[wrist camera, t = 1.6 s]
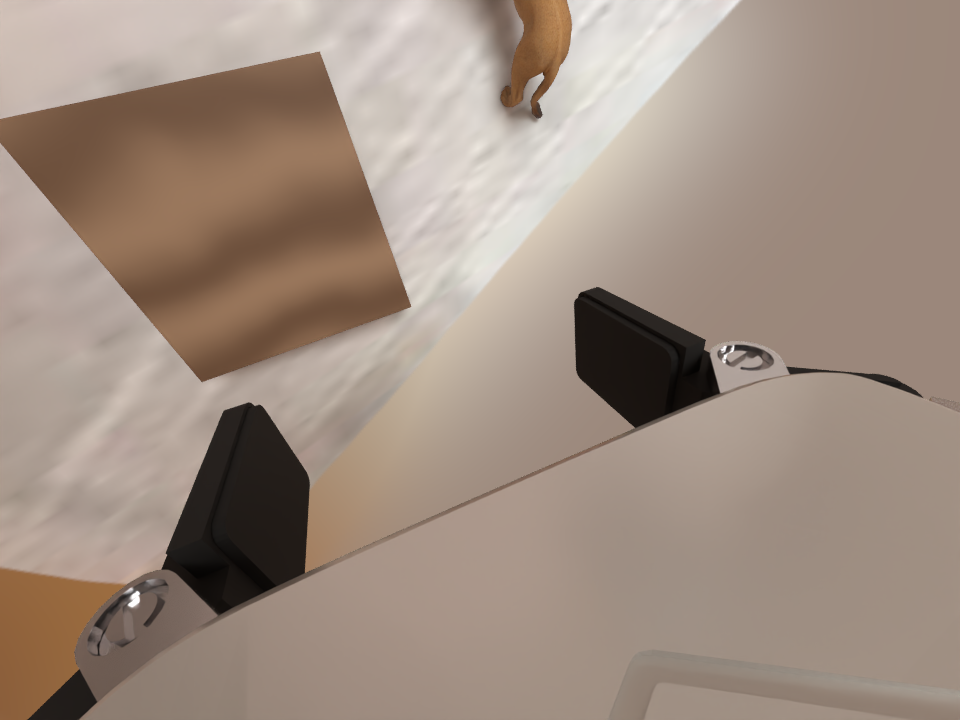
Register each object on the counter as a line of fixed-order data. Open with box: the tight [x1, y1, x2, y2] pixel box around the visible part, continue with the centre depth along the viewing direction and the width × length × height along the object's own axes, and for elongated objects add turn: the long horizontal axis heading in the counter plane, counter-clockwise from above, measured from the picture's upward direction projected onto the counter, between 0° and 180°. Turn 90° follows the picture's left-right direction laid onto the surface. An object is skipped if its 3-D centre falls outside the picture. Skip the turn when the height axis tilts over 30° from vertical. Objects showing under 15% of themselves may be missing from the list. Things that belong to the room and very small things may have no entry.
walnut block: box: [0, 52, 411, 382], centre depth 25 cm, size 16×16×5 cm
